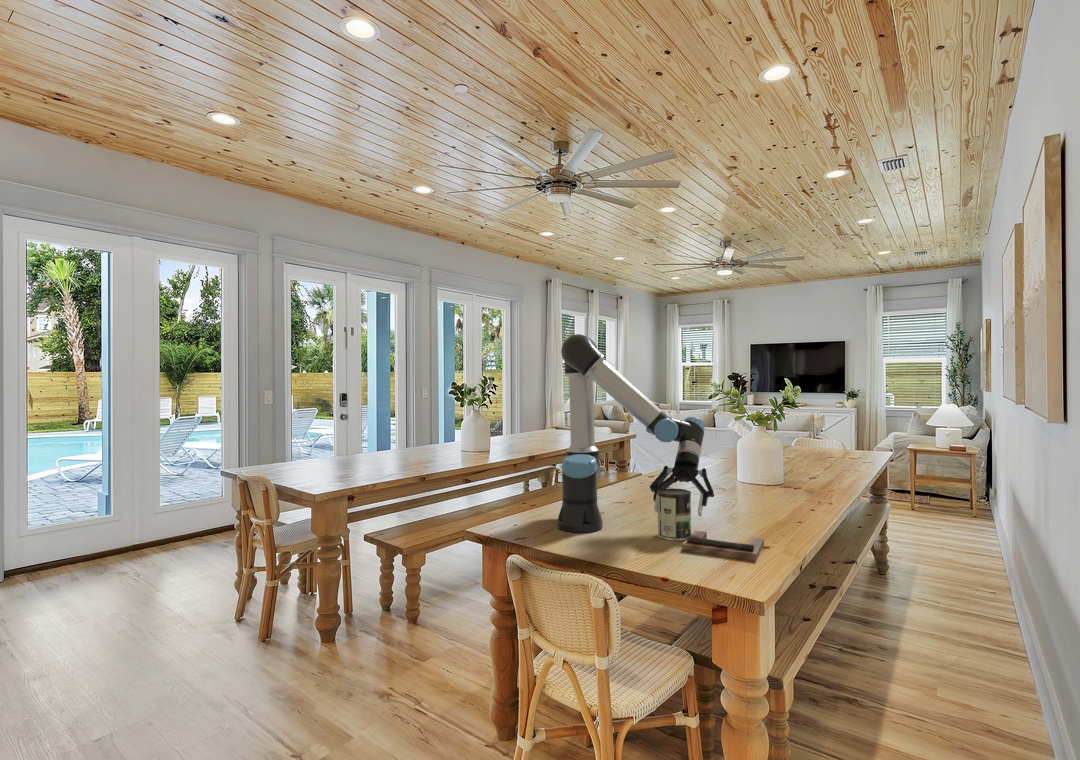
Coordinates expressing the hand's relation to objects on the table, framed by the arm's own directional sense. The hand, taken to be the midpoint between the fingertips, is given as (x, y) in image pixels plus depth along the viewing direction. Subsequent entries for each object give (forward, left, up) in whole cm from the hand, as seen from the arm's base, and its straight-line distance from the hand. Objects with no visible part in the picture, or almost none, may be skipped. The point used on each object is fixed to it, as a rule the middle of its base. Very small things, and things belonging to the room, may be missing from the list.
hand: (677, 512), depth 177 cm
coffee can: (-1, 0, -8) cm, 8 cm away
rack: (+15, -6, -8) cm, 18 cm away
